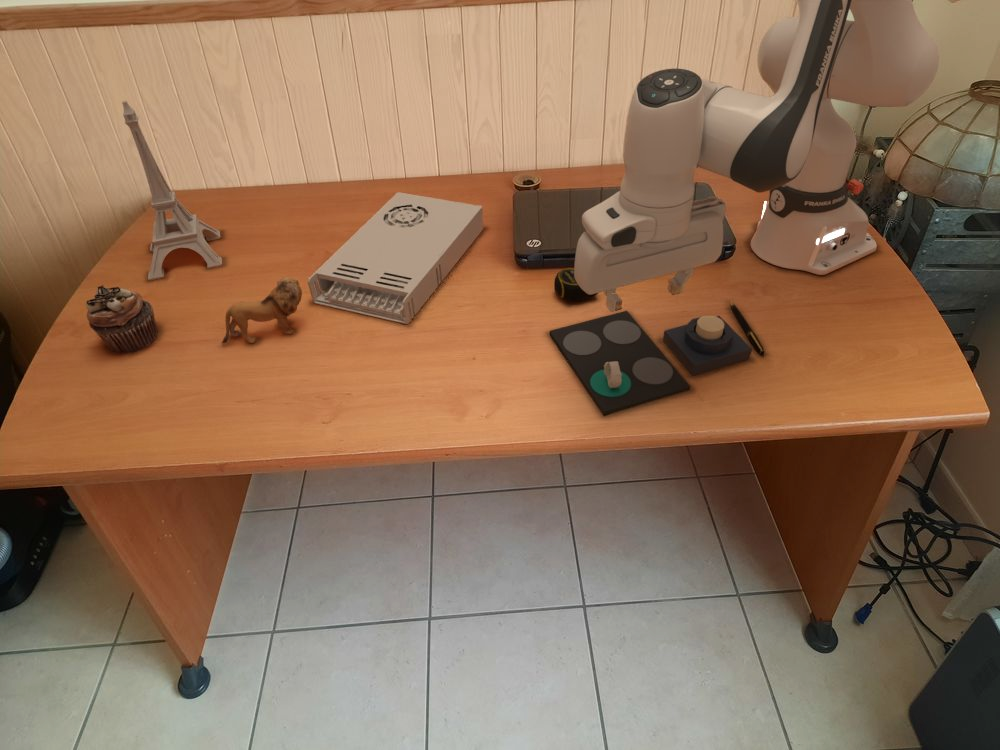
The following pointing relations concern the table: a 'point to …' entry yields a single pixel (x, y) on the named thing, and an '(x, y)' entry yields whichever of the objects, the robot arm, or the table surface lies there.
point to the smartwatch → (613, 374)
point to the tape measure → (569, 286)
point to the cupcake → (122, 319)
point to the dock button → (709, 327)
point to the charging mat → (631, 348)
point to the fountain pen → (747, 329)
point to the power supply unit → (397, 257)
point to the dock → (706, 348)
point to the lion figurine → (265, 309)
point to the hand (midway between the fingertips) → (644, 300)
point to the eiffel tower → (184, 224)
